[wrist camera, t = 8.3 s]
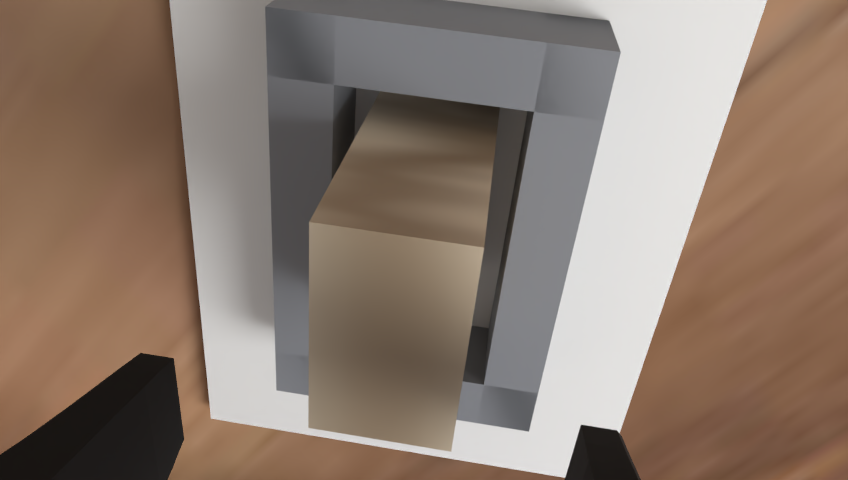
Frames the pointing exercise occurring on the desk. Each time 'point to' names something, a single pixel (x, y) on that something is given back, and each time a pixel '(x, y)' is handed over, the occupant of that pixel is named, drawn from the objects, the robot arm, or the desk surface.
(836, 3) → the desk surface
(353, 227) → the key block
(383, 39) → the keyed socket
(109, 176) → the desk surface
